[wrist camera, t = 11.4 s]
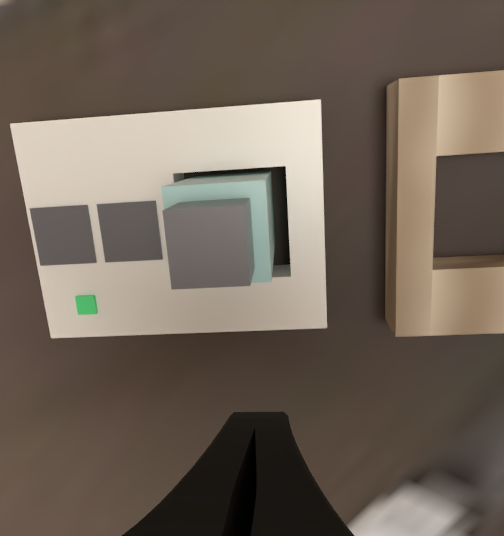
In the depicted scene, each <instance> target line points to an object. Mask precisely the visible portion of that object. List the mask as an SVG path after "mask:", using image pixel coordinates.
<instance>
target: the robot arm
mask: <svg viewBox="0 0 504 536" xmlns="http://www.w3.org/2000/svg"><path fill="white" fill-rule="evenodd" d="M122 536H354V535H353V534H352V532H351V531H350V530H349V529H348V527H347V526H346V525H345V524H344V522H343V521H342V520H341V518H340V517H339V516H338V514H337V513H336V512H335V510H334V509H333V507H332V506H331V504H330V503H329V502H328V500H327V499H326V497H325V496H324V494H323V492H322V491H321V489H320V488H319V486H318V484H317V483H316V481H315V479H314V478H313V476H312V474H311V472H310V471H309V469H308V467H307V465H306V463H305V461H304V459H303V457H302V455H301V453H300V451H299V449H298V446H297V444H296V442H295V439H294V437H293V434H292V431H291V428H290V424H289V419H288V415H286V414H285V413H284V412H234V413H233V414H232V415H231V416H230V417H229V418H228V420H227V421H226V423H225V424H224V426H223V427H222V429H221V430H220V432H219V433H218V435H217V436H216V437H215V439H214V440H213V442H212V443H211V444H210V446H209V447H208V448H207V449H206V451H205V452H204V453H203V455H202V456H201V457H200V458H199V460H198V461H197V462H196V463H195V465H194V466H193V467H192V468H191V469H190V471H189V472H188V473H187V474H186V475H185V476H184V477H183V478H182V480H181V481H180V482H179V483H178V484H177V485H176V486H175V487H174V489H173V490H172V491H171V492H170V493H169V494H168V495H167V496H166V497H165V498H164V499H163V500H162V501H161V502H160V503H159V504H158V505H157V506H156V507H155V508H154V509H153V510H152V511H151V512H149V513H148V514H147V515H146V516H145V517H144V518H143V519H142V520H141V521H140V522H139V523H137V524H136V525H135V526H134V527H132V528H131V529H130V530H129V531H127V532H126V533H125V534H124V535H122Z"/></svg>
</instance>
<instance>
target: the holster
mask: <svg viewBox="0 0 504 536" xmlns="http://www.w3.org/2000/svg"><path fill="white" fill-rule="evenodd" d="M490 152H504V70H500V71H488V72H476V73H463V74H451V75H438V76H426V77H413V78H401V79H398V80H396V81H394V82H393V83H391V84H389V85H388V86H387V118H386V275H385V320H386V321H387V323H388V325H389V327H390V328H391V330H392V332H393V333H394V335H395V337H406V336H434V335H463V334H492V333H504V254H496V255H476V256H455V257H434V258H433V240H434V209H435V179H436V156H445V155H460V154H475V153H490Z"/></svg>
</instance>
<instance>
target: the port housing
mask: <svg viewBox="0 0 504 536" xmlns="http://www.w3.org/2000/svg"><path fill="white" fill-rule="evenodd" d="M10 127H11V132H12V137H13V142H14V147H15V153H16V158H17V163H18V168H19V174H20V179H21V184H22V189H23V194H24V200H25V205H26V210H27V215H28V221H29V226H30V231H31V236H32V241H33V247H34V252H35V257H36V262H37V267H38V273H39V278H40V283H41V288H42V294H43V299H44V304H45V309H46V314H47V320H48V325H49V330H50V335H51V338H71V337H98V336H125V335H153V334H180V333H207V332H234V331H262V330H289V329H316V328H327V306H326V270H325V234H324V198H323V162H322V126H321V100H308V101H295V102H283V103H270V104H257V105H244V106H231V107H218V108H206V109H193V110H180V111H167V112H154V113H142V114H129V115H116V116H103V117H90V118H77V119H65V120H52V121H39V122H26V123H13V124H10ZM279 166H286V186H287V207H288V228H289V249H290V265H273V272H272V282H261V283H251V285H250V286H239V287H217V288H195V289H171V280H170V272H169V263H168V255H167V246H166V238H165V229H164V220H163V212H162V211H163V210H164V205H163V196H162V188H161V187H162V186H165V185H169V184H172V183H175V182H178V181H182V180H185V179H184V173H188V172H204V171H219V170H234V169H249V168H264V167H279Z"/></svg>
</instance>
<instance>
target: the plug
mask: <svg viewBox="0 0 504 536" xmlns="http://www.w3.org/2000/svg"><path fill="white" fill-rule="evenodd" d="M161 188H162V196H163V205H164V210H163V211H162V212H163V220H164V229H165V238H166V246H167V255H168V263H169V272H170V280H171V289H195V288H217V287H239V286H250V285H251V283H261V282H272V272H273V261H274V251H275V233H274V215H273V197H272V179H271V171H261V172H246V173H230V174H215V175H200V176H195V177H191V178H188V179H185V180H182V181H178V182H175V183H172V184H169V185H165V186H162V187H161Z"/></svg>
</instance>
